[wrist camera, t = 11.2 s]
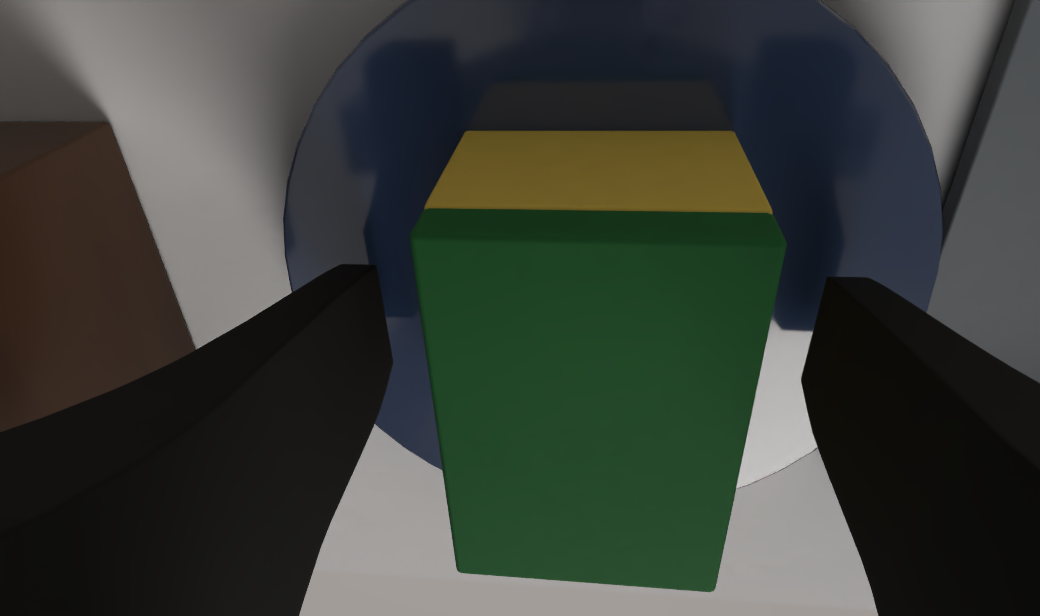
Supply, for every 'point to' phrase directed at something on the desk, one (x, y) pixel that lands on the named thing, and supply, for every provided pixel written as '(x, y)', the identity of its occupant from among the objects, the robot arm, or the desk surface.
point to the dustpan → (998, 210)
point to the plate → (624, 107)
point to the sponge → (595, 348)
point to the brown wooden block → (76, 273)
